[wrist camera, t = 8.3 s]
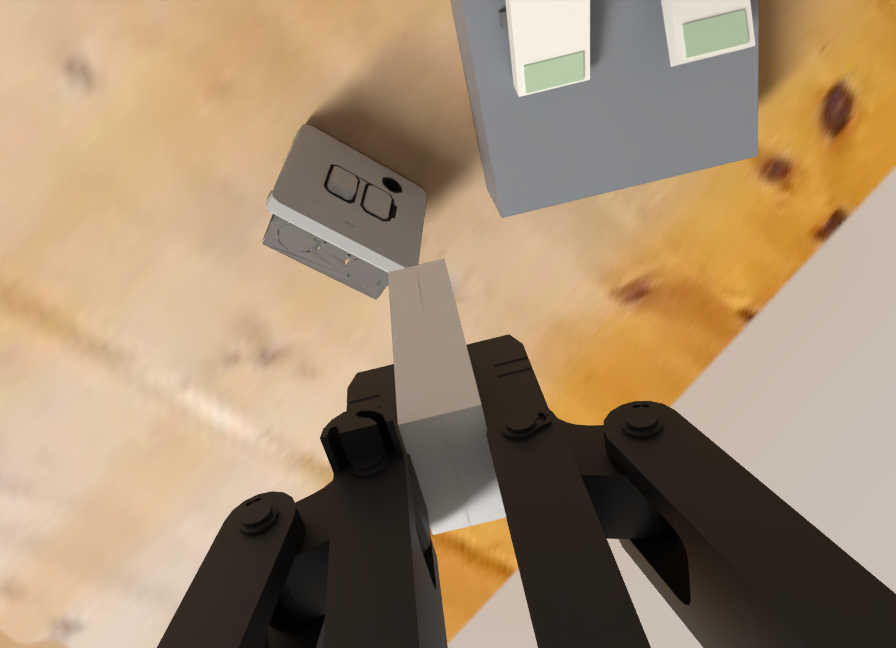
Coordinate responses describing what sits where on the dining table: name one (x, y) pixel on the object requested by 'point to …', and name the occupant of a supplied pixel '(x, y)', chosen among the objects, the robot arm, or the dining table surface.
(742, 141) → the console
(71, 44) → the dining table surface
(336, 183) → the electrical switch
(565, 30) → the rocker
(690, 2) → the rocker
